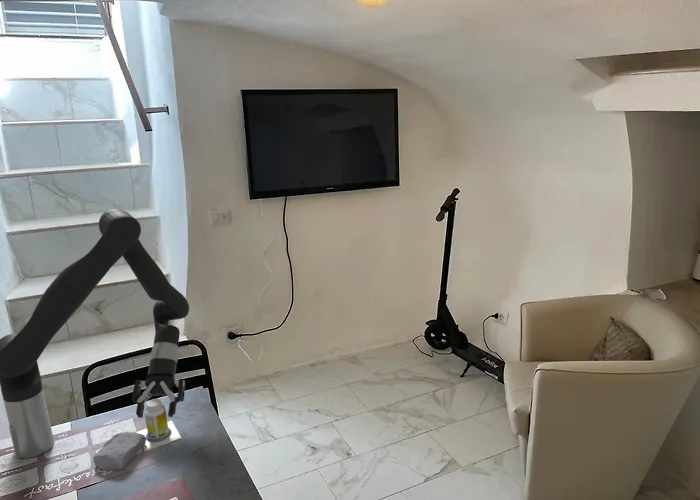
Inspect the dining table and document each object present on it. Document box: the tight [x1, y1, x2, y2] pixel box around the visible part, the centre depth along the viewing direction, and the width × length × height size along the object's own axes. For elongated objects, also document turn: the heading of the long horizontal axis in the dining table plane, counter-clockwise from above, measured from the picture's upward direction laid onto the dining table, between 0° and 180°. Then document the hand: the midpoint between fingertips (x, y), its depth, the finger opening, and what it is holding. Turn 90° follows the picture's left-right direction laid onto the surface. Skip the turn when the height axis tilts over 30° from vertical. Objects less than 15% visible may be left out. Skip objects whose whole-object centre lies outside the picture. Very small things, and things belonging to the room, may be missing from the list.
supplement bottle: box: [144, 398, 168, 439], centre depth 151 cm, size 6×6×10 cm
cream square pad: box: [136, 420, 182, 452], centre depth 152 cm, size 10×10×1 cm
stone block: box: [92, 431, 146, 471], centre depth 143 cm, size 12×5×10 cm
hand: (155, 417), depth 150 cm, fingers open, 8 cm apart
